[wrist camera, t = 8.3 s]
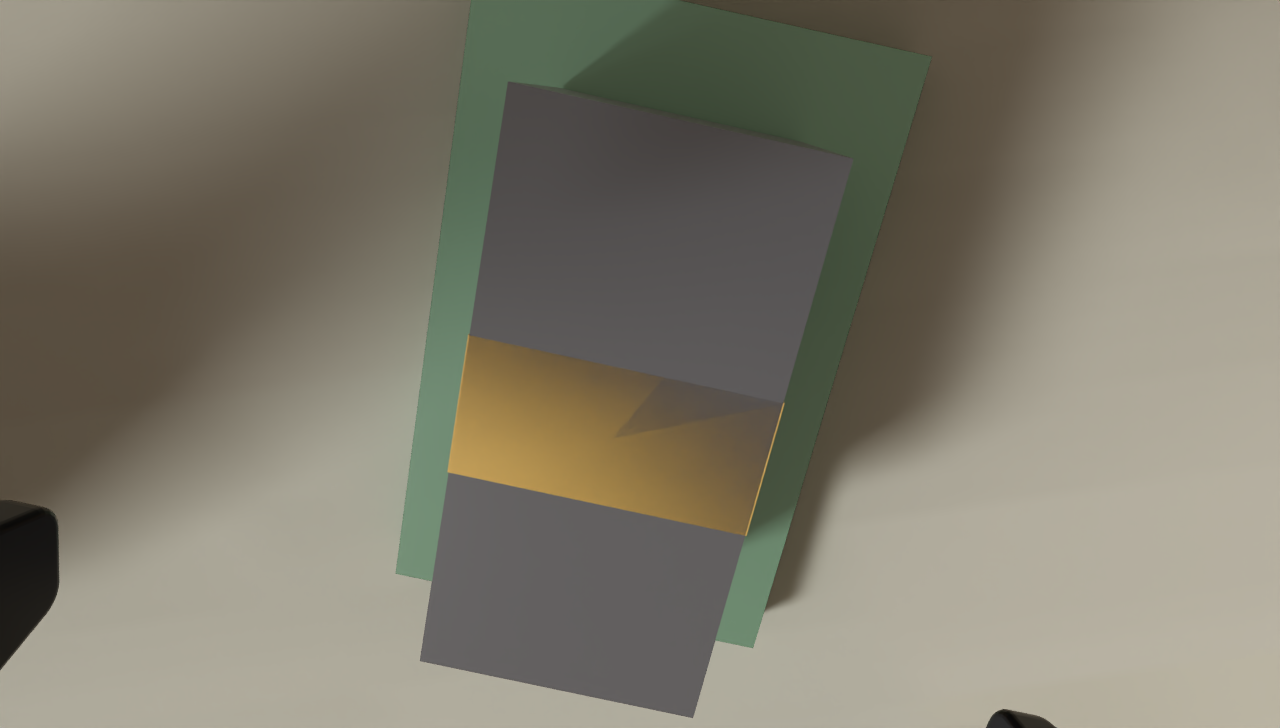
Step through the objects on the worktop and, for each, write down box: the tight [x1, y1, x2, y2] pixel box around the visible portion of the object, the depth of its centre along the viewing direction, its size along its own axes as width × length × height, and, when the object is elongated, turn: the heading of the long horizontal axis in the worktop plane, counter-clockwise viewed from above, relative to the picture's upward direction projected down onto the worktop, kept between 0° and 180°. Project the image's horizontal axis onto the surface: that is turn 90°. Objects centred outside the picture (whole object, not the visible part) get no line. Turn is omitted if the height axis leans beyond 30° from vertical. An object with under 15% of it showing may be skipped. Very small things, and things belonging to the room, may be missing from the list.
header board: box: [396, 0, 932, 648], centre depth 17 cm, size 9×14×4 cm, turn 168°
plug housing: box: [420, 81, 853, 718], centre depth 15 cm, size 5×10×5 cm, turn 168°
